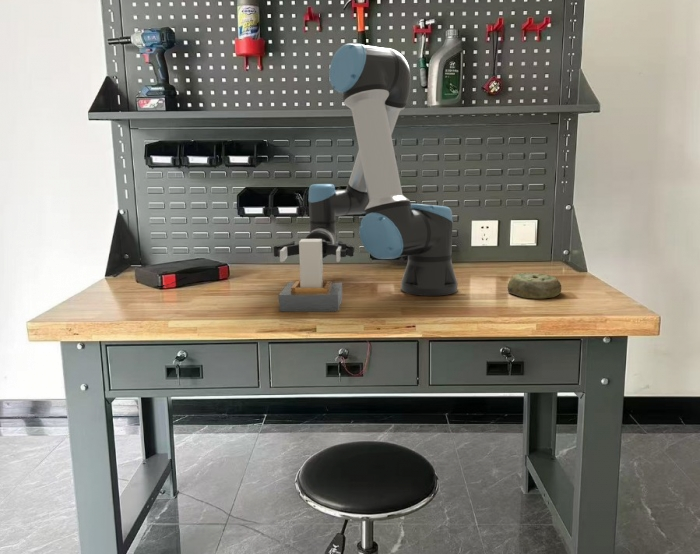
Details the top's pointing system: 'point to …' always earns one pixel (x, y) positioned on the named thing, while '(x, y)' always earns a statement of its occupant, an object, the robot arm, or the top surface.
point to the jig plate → (311, 297)
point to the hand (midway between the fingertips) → (309, 256)
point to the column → (311, 263)
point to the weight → (534, 286)
